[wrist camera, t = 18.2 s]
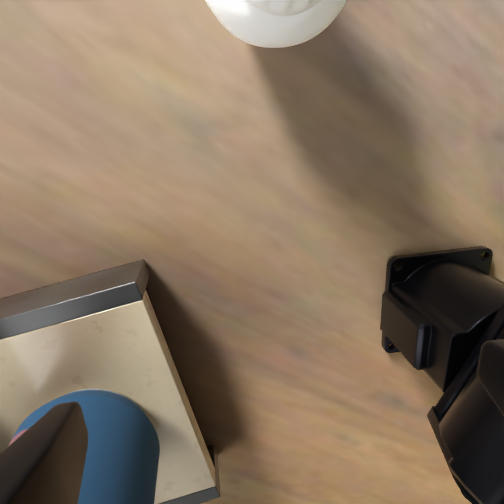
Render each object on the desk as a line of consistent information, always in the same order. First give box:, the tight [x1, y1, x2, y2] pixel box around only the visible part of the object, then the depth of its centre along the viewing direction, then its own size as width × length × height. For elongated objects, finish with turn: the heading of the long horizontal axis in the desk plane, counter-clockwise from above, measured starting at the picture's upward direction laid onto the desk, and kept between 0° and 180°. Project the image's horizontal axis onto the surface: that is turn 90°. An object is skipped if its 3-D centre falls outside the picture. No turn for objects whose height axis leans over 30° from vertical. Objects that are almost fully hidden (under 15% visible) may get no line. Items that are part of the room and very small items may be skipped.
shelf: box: [0, 260, 220, 504], centre depth 18 cm, size 16×15×9 cm
